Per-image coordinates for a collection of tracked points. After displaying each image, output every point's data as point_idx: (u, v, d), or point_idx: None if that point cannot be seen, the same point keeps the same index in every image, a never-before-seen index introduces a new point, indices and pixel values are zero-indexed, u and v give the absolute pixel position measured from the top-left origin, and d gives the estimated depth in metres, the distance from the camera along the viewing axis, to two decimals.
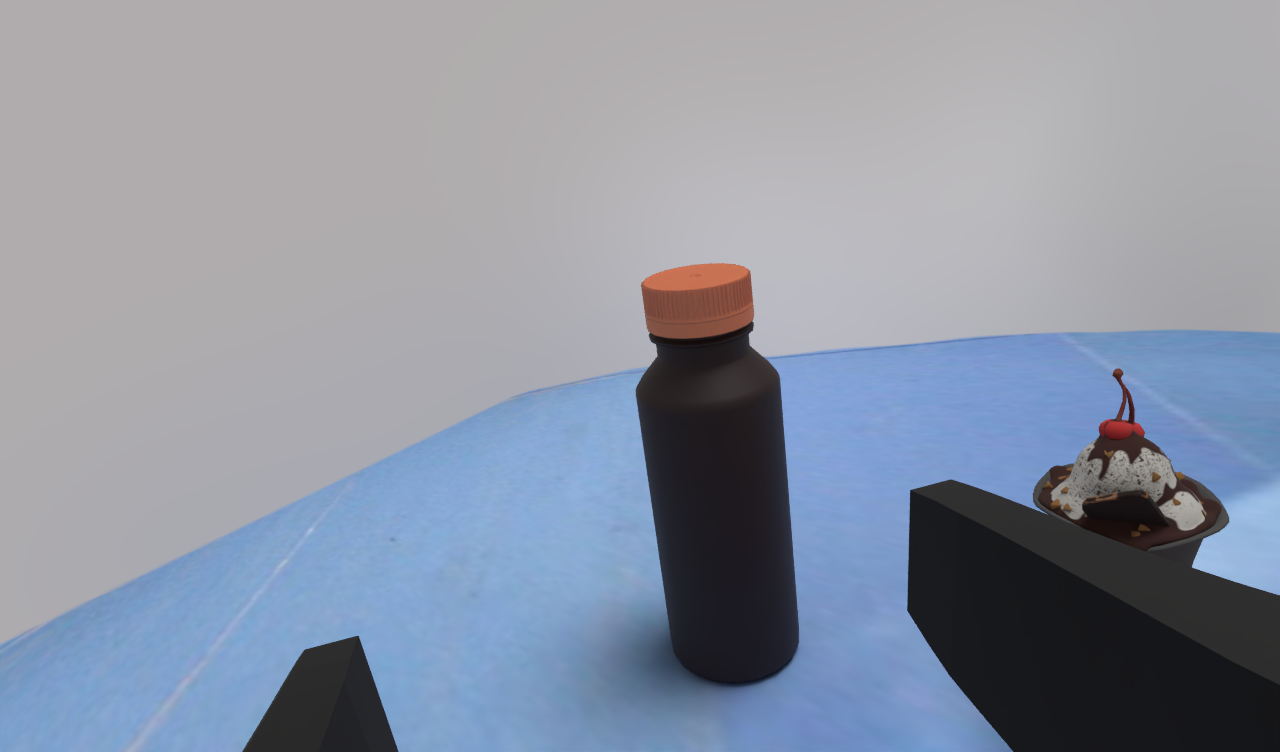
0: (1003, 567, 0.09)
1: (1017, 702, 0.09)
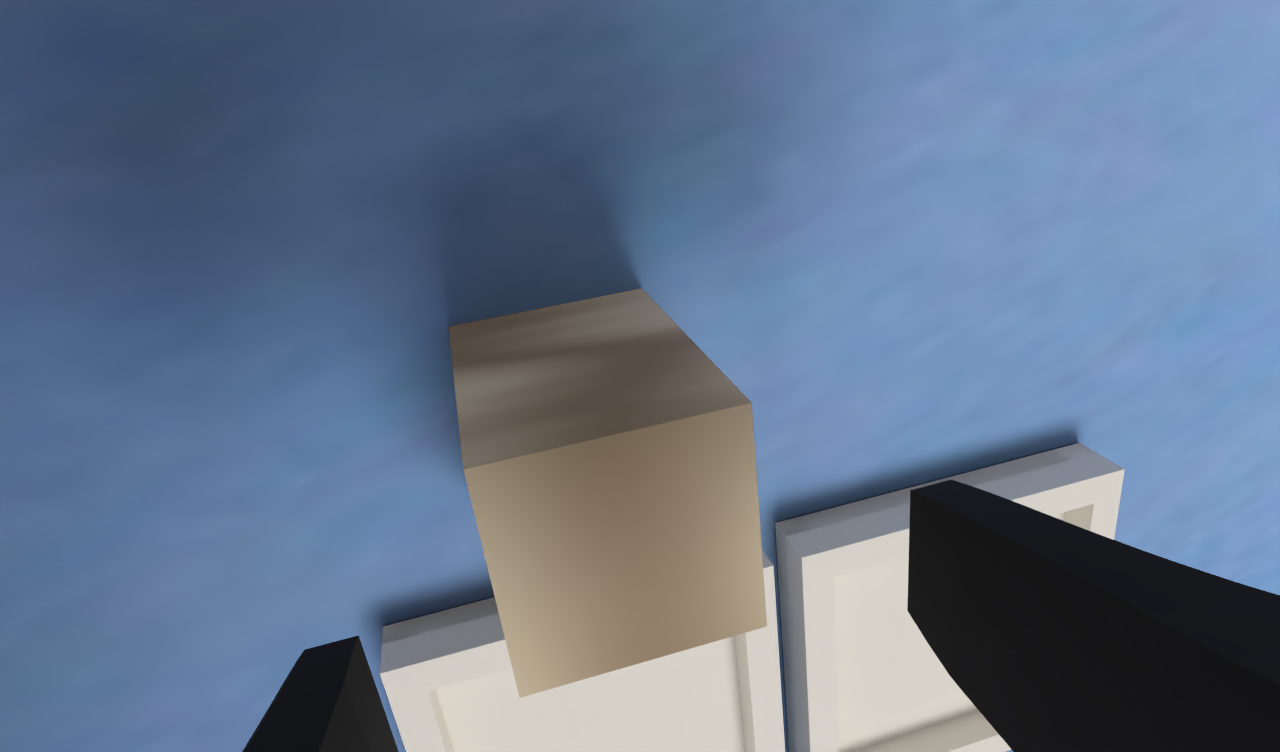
0: (1003, 567, 0.09)
1: (1016, 701, 0.09)
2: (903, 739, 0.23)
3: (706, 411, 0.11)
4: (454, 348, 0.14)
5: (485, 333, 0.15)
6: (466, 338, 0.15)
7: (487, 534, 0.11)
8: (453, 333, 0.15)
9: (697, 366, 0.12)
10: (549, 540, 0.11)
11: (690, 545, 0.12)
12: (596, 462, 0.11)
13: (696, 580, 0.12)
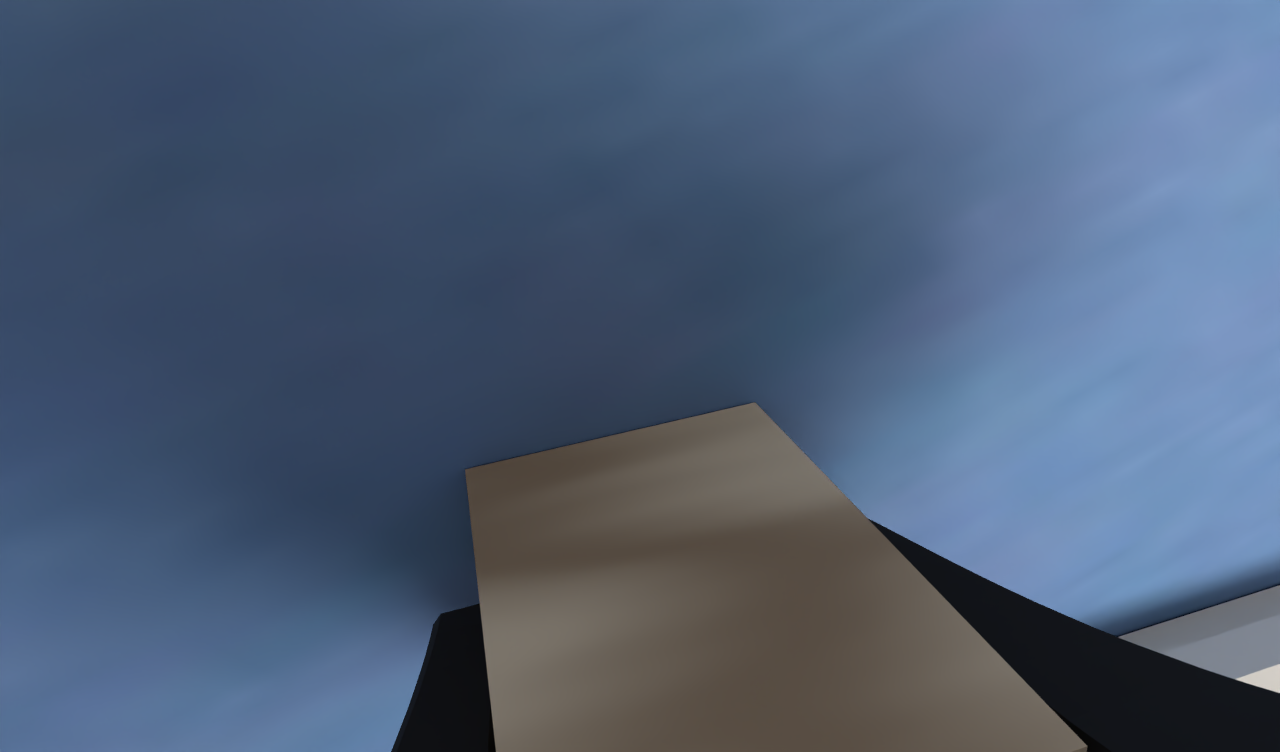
0: None
1: None
2: None
3: None
4: (477, 525, 0.09)
5: (525, 491, 0.09)
6: (494, 500, 0.09)
7: None
8: (475, 489, 0.10)
9: (922, 611, 0.07)
10: None
11: None
12: None
13: None
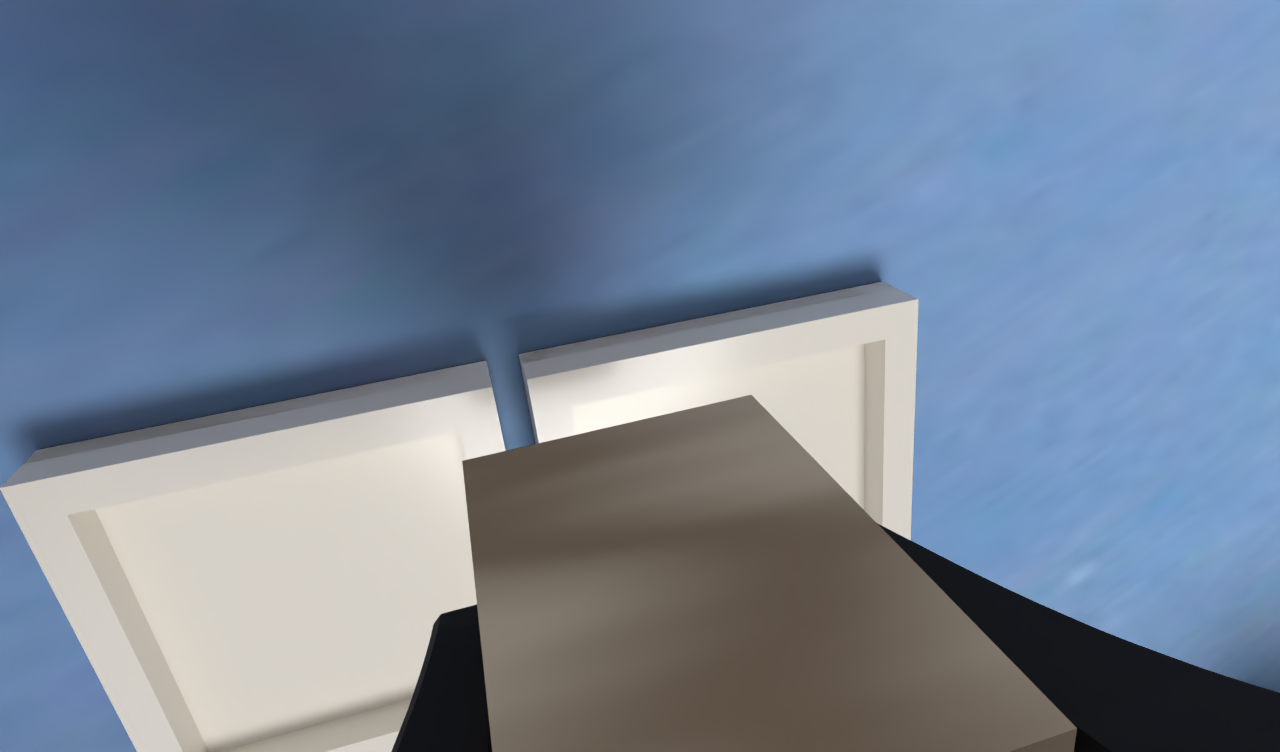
0: None
1: None
2: None
3: (991, 750, 0.05)
4: (474, 514, 0.09)
5: (521, 482, 0.09)
6: (491, 491, 0.09)
7: None
8: (471, 480, 0.10)
9: (914, 597, 0.07)
10: None
11: None
12: None
13: None
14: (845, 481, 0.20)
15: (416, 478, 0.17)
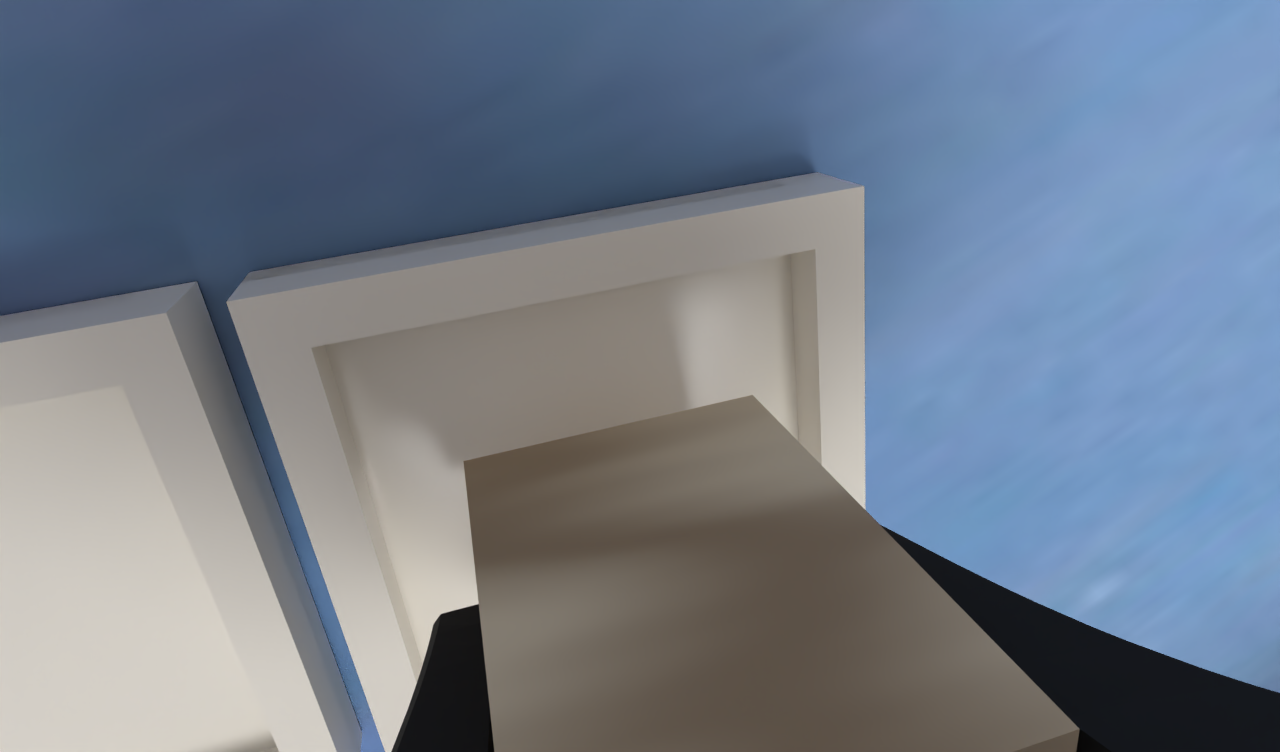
0: None
1: None
2: None
3: None
4: (476, 515, 0.09)
5: (523, 482, 0.09)
6: (493, 491, 0.09)
7: None
8: (472, 480, 0.10)
9: (917, 598, 0.07)
10: None
11: None
12: None
13: None
14: None
15: (89, 463, 0.11)
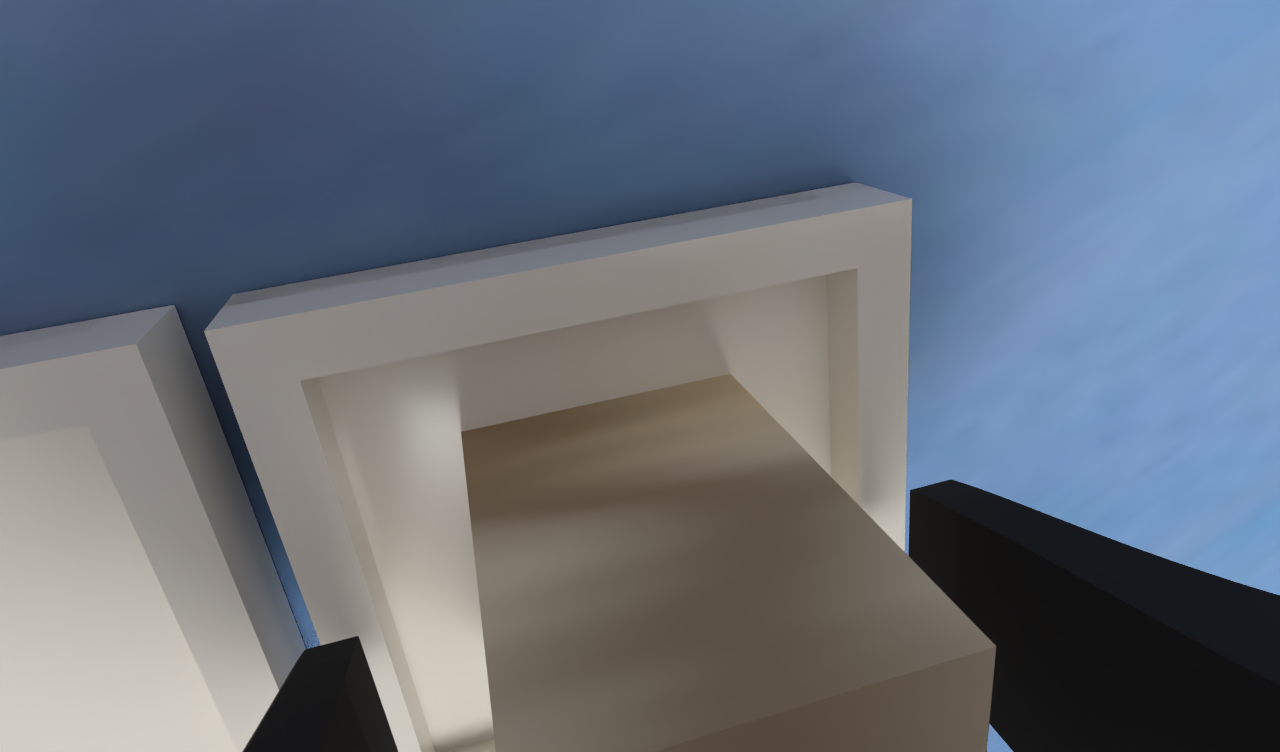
0: (1003, 567, 0.09)
1: (1016, 702, 0.09)
2: None
3: (919, 664, 0.06)
4: (472, 477, 0.10)
5: (515, 449, 0.10)
6: (487, 457, 0.10)
7: None
8: (469, 448, 0.10)
9: (865, 544, 0.08)
10: None
11: None
12: None
13: None
14: None
15: (55, 506, 0.10)
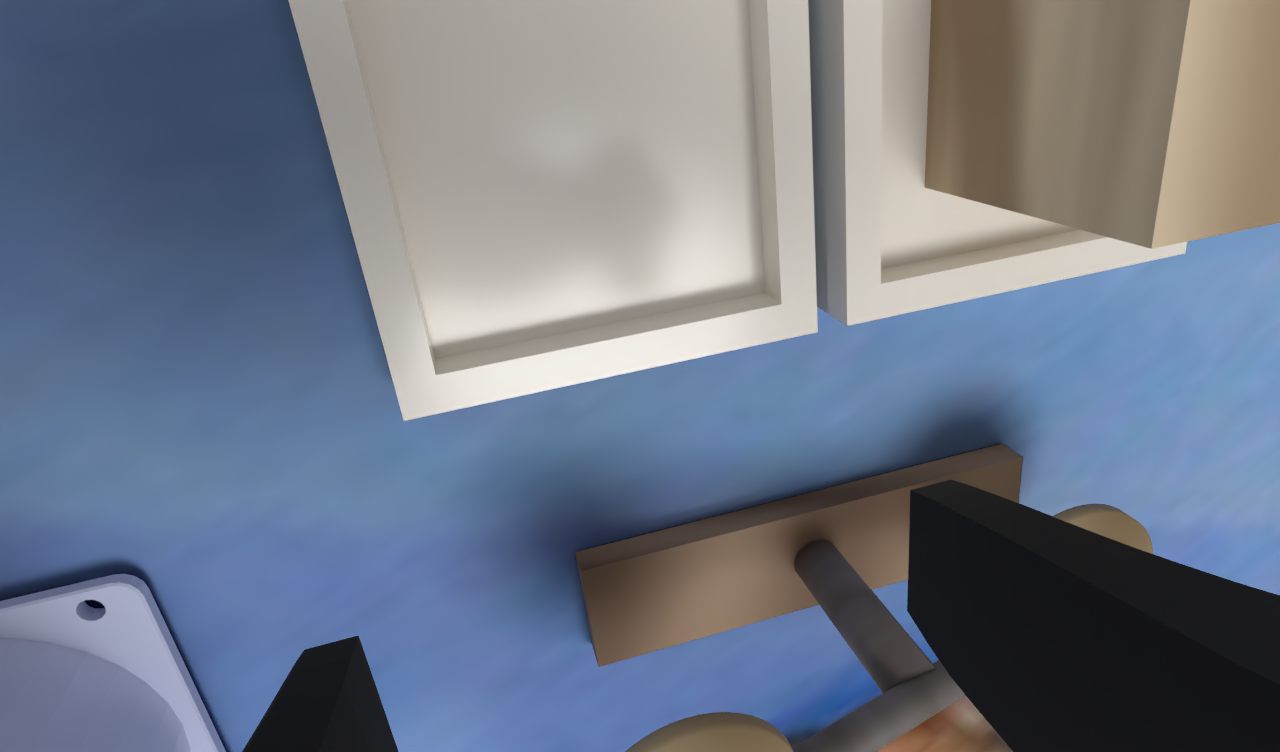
0: (1003, 567, 0.09)
1: (1016, 701, 0.09)
2: (959, 254, 0.18)
3: None
4: None
5: None
6: None
7: (1190, 37, 0.11)
8: None
9: None
10: (1233, 57, 0.11)
11: None
12: None
13: None
14: None
15: (689, 6, 0.15)
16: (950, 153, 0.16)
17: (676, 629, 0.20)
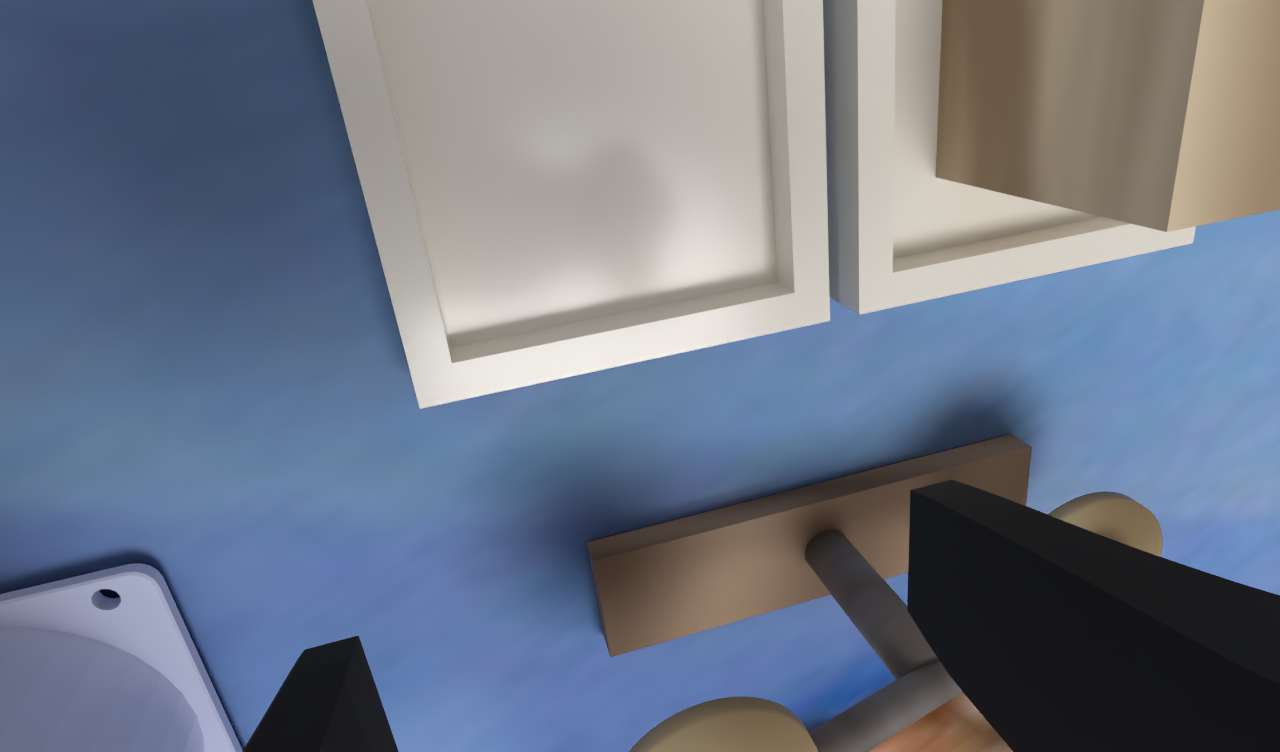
0: (1003, 567, 0.09)
1: (1017, 702, 0.09)
2: (969, 243, 0.18)
3: None
4: None
5: None
6: None
7: (1207, 21, 0.11)
8: None
9: None
10: (1249, 41, 0.11)
11: None
12: None
13: None
14: None
15: None
16: (961, 142, 0.16)
17: (687, 619, 0.20)
